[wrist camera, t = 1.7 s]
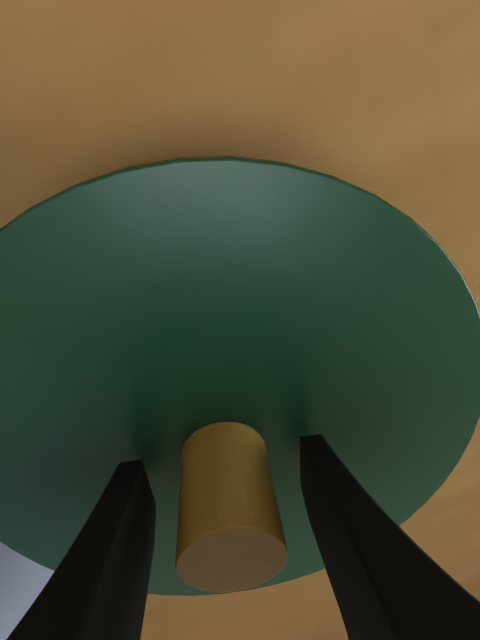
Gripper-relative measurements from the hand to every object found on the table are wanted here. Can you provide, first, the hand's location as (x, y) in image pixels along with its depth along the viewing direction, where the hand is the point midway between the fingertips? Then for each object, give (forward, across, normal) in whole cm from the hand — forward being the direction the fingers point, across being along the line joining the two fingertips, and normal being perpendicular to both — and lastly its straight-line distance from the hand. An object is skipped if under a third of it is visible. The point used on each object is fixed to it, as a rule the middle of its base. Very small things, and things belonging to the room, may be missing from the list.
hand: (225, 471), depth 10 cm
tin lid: (+1, 0, 0) cm, 1 cm away
